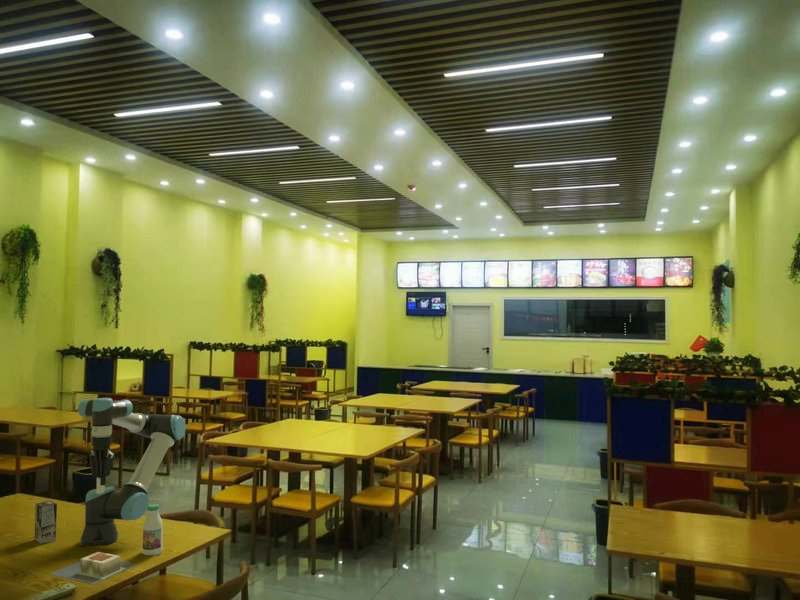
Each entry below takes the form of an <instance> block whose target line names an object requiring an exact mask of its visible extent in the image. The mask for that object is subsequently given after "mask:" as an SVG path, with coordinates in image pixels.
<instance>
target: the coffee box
mask: <svg viewBox="0 0 800 600" xmlns="http://www.w3.org/2000/svg"><path fill="white" fill-rule="evenodd" d="M34 505H35V507H34V511H35V512H34V540H35V541H37V542H38V543H39V544H46V543H50V542H54V541H56V539H57V538H56V536H57V513H58V512H57V511H58V504H57V503H56V502H54V501H52V500H46V501H41V502H37V503H36V502H35V504H34Z"/></svg>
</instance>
